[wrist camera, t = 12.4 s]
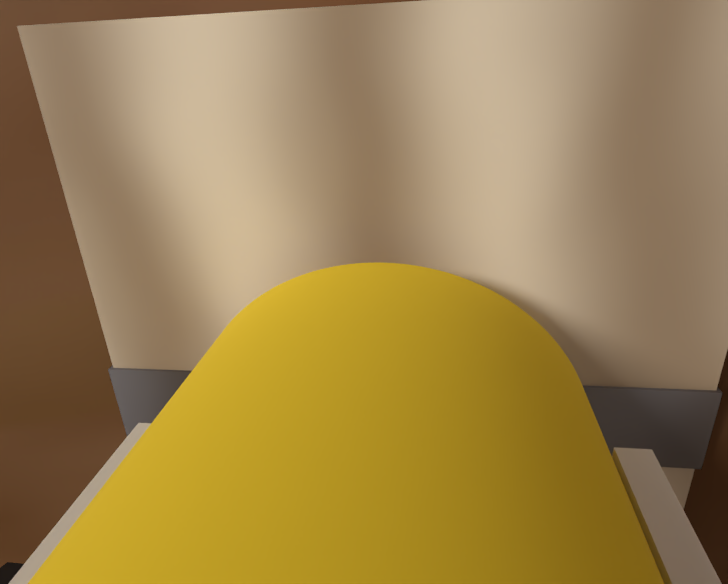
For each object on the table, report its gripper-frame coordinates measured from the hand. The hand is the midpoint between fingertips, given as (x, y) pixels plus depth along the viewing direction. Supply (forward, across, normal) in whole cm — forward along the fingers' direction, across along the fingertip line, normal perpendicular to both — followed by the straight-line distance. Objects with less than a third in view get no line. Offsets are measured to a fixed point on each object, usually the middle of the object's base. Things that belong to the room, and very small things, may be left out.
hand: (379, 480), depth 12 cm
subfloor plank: (+4, 0, -7) cm, 8 cm away
